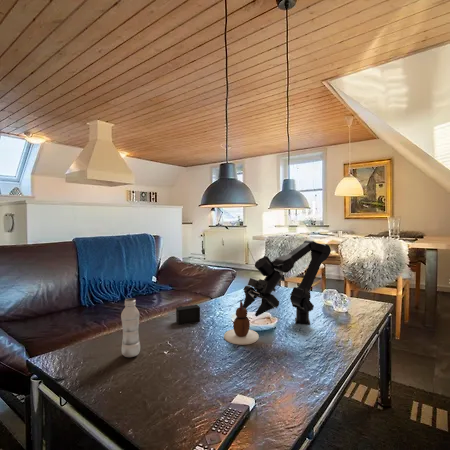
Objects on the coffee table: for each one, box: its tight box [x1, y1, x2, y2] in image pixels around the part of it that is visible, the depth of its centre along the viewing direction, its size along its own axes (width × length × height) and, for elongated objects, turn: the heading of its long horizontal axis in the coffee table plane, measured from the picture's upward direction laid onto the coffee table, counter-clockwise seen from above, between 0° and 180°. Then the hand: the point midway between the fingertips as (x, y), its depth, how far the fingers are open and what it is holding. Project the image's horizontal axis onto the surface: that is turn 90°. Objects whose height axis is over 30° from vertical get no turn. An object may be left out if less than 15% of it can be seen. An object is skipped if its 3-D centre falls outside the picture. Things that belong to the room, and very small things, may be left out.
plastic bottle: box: [120, 298, 141, 358], centre depth 105 cm, size 6×7×20 cm
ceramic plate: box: [223, 328, 260, 346], centre depth 121 cm, size 14×14×1 cm
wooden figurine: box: [232, 299, 250, 337], centre depth 121 cm, size 7×6×15 cm
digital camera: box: [175, 304, 201, 326], centre depth 139 cm, size 10×5×7 cm, turn 114°
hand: (249, 312), depth 122 cm, fingers open, 9 cm apart
